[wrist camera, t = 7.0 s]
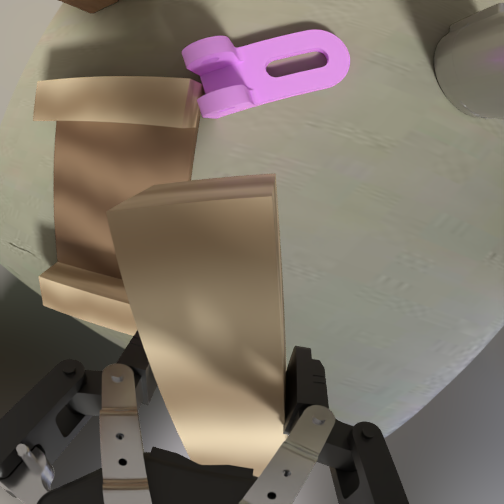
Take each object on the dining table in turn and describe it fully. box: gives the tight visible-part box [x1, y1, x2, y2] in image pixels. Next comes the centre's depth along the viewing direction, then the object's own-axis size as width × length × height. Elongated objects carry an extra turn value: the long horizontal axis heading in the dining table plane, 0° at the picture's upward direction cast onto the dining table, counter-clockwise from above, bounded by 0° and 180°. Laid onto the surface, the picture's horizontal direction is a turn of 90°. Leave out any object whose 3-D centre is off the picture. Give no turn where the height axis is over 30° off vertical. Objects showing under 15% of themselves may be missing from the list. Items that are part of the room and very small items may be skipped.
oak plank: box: [106, 174, 288, 477], centre depth 13 cm, size 15×5×4 cm, turn 5°
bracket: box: [182, 29, 350, 118], centre depth 22 cm, size 13×6×7 cm, turn 107°
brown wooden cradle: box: [33, 76, 204, 336], centre depth 29 cm, size 25×16×5 cm, turn 170°
